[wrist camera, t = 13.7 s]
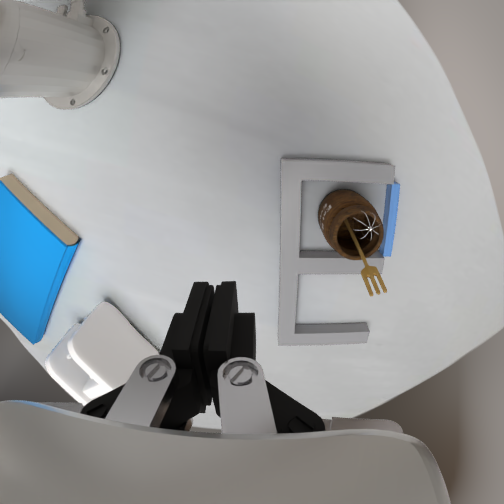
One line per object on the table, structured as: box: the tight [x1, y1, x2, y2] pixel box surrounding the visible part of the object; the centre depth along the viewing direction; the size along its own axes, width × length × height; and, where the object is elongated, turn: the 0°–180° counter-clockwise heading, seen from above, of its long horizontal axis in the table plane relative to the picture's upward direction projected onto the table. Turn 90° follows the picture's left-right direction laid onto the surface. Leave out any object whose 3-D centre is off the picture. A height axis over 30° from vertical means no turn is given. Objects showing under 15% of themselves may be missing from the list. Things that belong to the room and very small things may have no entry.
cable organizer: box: [45, 302, 159, 406], centre depth 38 cm, size 15×11×12 cm
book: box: [0, 174, 80, 345], centre depth 37 cm, size 17×4×25 cm
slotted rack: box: [278, 158, 400, 346], centre depth 34 cm, size 23×13×2 cm, turn 1°
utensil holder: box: [318, 190, 387, 296], centre depth 27 cm, size 6×6×12 cm
